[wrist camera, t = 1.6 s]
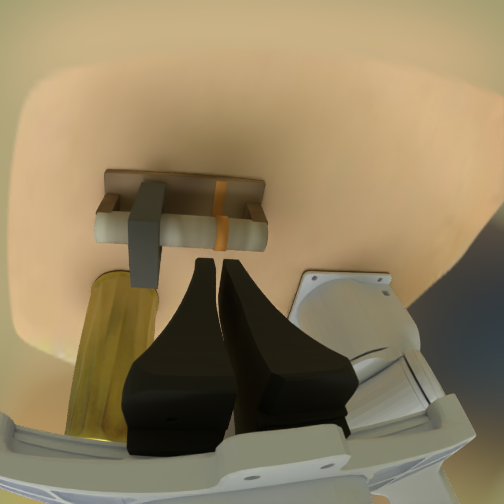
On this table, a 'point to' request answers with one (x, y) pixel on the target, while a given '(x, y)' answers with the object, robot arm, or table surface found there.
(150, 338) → the vase
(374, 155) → the table surface
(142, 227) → the dark grey square frame
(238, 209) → the pipe stand
